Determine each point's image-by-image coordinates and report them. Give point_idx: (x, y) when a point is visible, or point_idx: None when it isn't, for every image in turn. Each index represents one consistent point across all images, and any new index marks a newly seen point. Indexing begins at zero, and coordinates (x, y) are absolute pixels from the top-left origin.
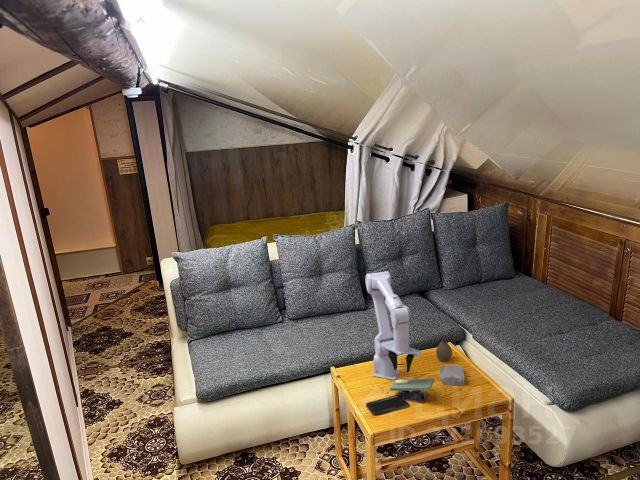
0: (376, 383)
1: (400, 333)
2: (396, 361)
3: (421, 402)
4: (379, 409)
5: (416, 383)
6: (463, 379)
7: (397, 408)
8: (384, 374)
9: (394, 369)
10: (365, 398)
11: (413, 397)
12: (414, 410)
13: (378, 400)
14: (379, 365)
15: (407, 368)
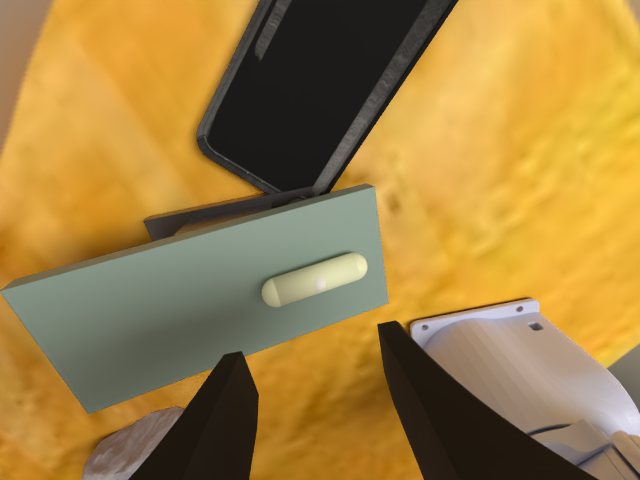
0: (492, 247)
1: None
2: (418, 447)
3: (156, 216)
4: None
5: (190, 308)
6: (82, 475)
7: (236, 52)
8: (479, 327)
9: (395, 325)
10: (504, 54)
11: (206, 219)
12: (142, 119)
13: (406, 67)
14: (548, 364)
15: (207, 396)
